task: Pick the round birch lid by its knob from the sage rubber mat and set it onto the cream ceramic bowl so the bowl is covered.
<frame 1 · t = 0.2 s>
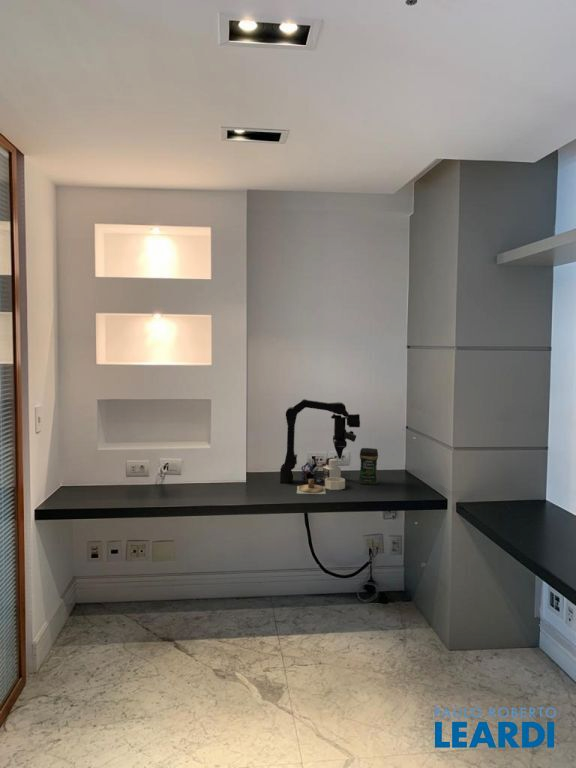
hand: (339, 456, 300), 14 cm above the table, tool pointing down, fingers open, 9 cm apart
bowl: (334, 488, 293), on the table
lid: (311, 489, 287), point 1 cm above the table, touching mat
coffee jar: (368, 483, 303), on the table
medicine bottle: (331, 480, 309), on the table
mat: (311, 491, 287), on the table
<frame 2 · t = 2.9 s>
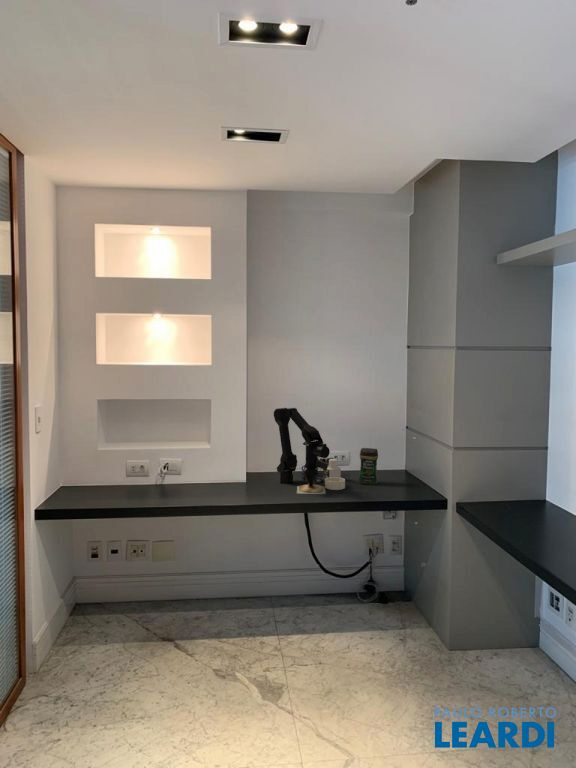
hand: (311, 485, 287), 3 cm above the table, tool pointing down, fingers closed on lid, 3 cm apart
lid: (311, 489, 287), point 1 cm above the table, touching gripper, mat
everything else where it was.
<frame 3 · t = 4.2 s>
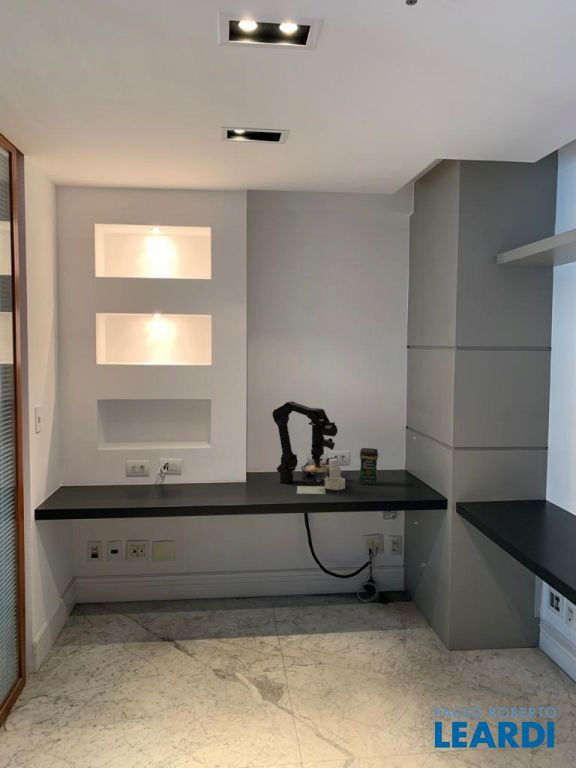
hand: (317, 465, 287), 13 cm above the table, tool pointing down, fingers closed on lid, 3 cm apart
lid: (317, 469, 287), point 11 cm above the table, touching gripper
everything else where it was.
when the fingers open (8 cm above the table, at t = 5.7 s): lid drops 1 cm, resting on bowl.
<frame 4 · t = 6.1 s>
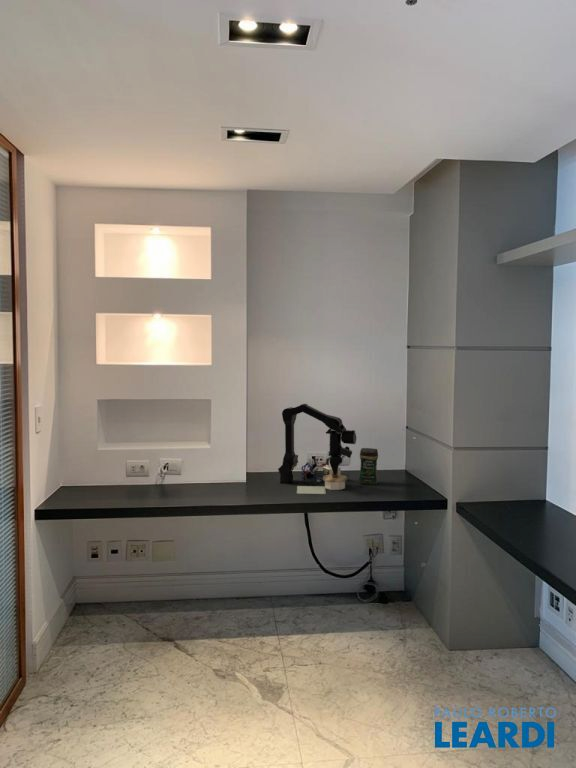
hand: (334, 473, 292), 8 cm above the table, tool pointing down, fingers open, 7 cm apart
lid: (334, 479, 292), point 4 cm above the table, touching bowl
everything else where it was.
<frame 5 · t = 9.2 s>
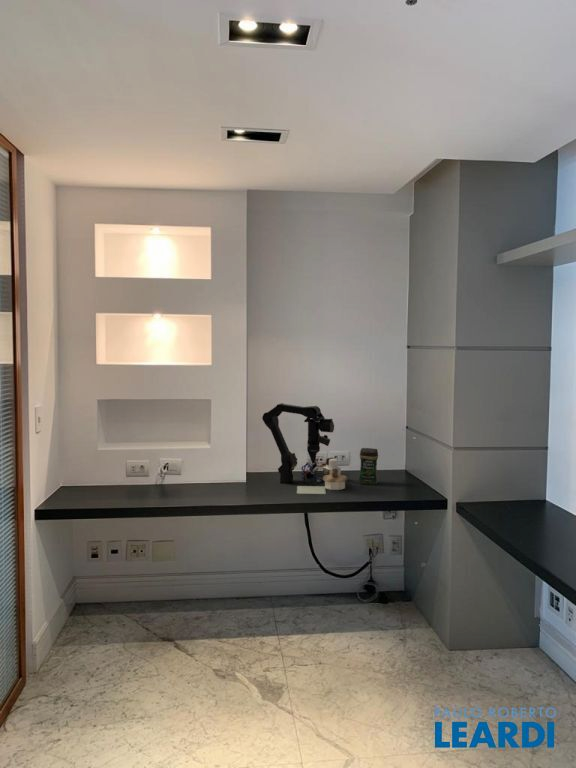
hand: (313, 461, 295), 13 cm above the table, tool pointing down, fingers open, 9 cm apart
nothing on the table moved.
at the end: lid 0.0 cm off-centre on the bowl, point 4.5 cm above the bowl's base; lid tilted 0°; the gripper is holding nothing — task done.
